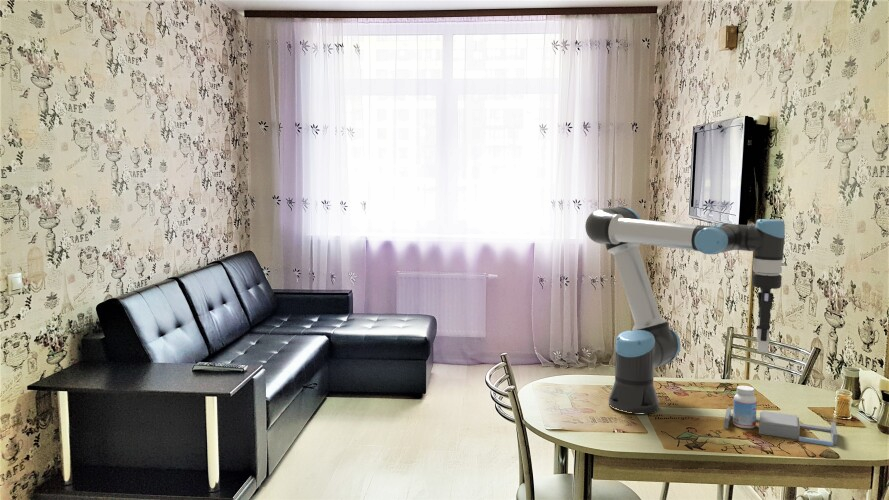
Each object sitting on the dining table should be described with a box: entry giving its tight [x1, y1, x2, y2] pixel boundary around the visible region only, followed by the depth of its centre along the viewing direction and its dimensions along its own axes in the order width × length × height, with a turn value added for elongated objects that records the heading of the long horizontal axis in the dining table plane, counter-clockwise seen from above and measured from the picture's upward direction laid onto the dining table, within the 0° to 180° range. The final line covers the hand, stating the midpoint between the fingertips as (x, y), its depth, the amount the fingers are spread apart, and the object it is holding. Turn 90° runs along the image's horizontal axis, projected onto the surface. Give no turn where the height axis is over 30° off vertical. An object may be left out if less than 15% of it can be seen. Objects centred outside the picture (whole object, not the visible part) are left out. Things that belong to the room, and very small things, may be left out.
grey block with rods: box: [723, 407, 839, 447], centre depth 188 cm, size 28×13×4 cm, turn 63°
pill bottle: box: [732, 385, 758, 429], centre depth 191 cm, size 6×6×11 cm
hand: (762, 345), depth 191 cm, fingers open, 13 cm apart
